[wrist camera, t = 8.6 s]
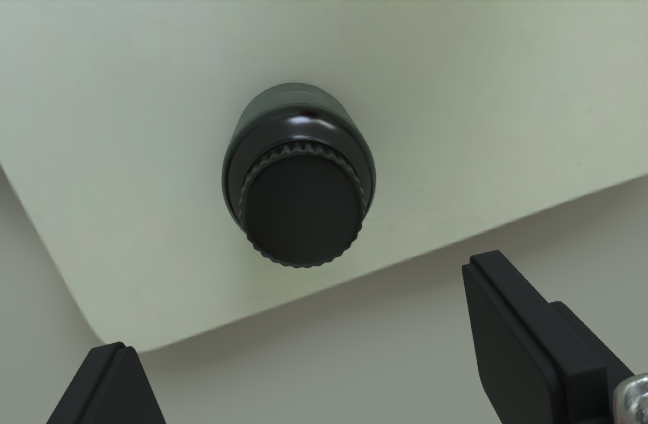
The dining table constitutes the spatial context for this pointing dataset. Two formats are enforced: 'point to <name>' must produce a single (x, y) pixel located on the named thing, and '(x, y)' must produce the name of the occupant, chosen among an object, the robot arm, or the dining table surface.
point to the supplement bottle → (298, 176)
